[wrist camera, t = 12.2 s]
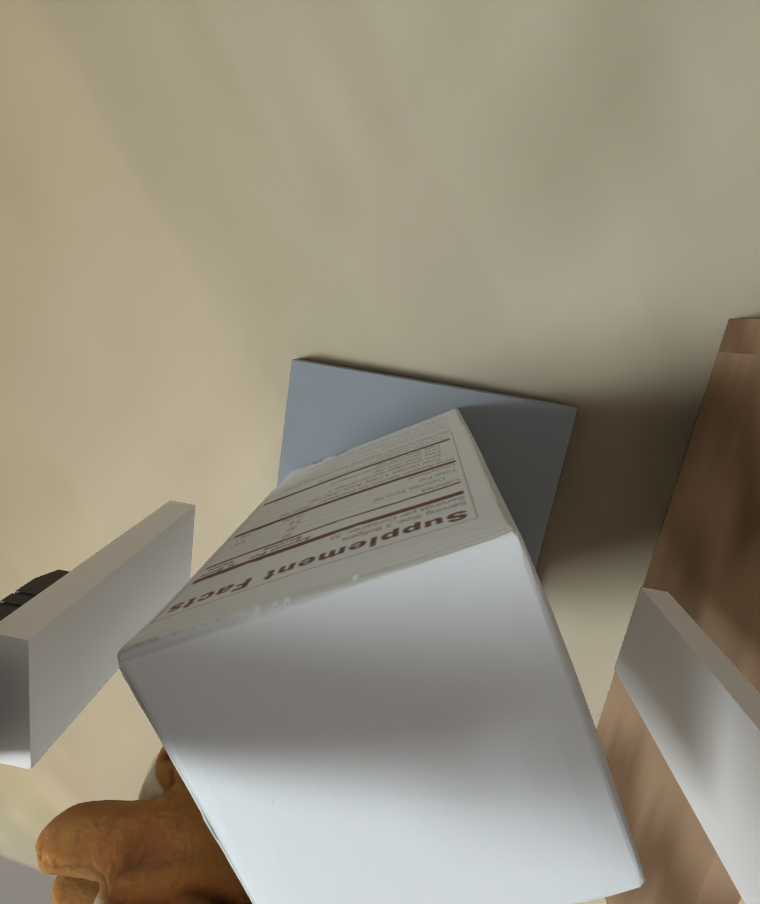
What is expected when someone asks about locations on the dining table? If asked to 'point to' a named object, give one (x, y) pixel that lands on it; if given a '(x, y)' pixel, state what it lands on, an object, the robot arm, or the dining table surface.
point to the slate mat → (412, 401)
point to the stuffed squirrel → (138, 849)
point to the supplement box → (385, 694)
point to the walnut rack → (697, 621)
